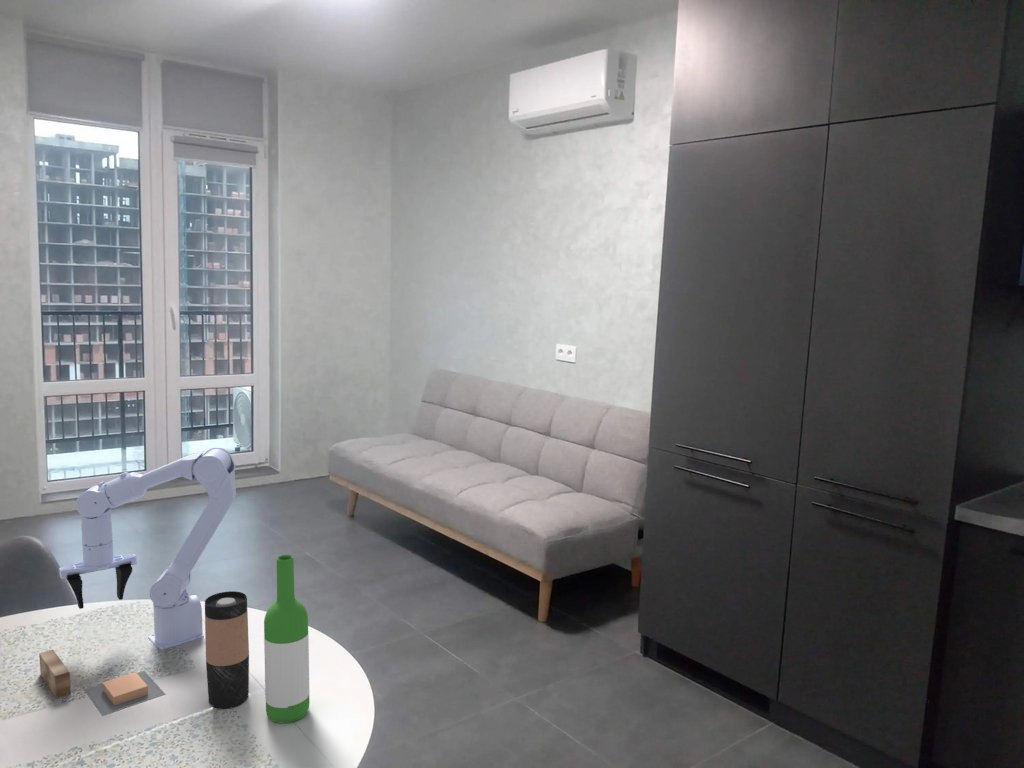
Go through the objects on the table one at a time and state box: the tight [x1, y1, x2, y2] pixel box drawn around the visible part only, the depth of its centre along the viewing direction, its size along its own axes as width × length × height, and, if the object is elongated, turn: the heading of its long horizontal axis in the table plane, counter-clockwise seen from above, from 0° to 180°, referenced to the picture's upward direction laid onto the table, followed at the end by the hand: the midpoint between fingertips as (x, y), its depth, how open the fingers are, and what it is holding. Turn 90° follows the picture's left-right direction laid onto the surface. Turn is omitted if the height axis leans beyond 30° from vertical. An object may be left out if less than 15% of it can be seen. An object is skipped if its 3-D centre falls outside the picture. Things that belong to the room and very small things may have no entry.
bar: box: [38, 649, 72, 699], centre depth 147 cm, size 12×2×5 cm, turn 44°
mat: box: [83, 670, 166, 717], centre depth 145 cm, size 11×12×1 cm
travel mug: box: [204, 590, 250, 710], centre depth 143 cm, size 8×8×20 cm
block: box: [101, 671, 148, 705], centre depth 145 cm, size 6×2×7 cm
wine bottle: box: [263, 554, 310, 724], centre depth 138 cm, size 8×8×30 cm
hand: (100, 602), depth 164 cm, fingers open, 7 cm apart
